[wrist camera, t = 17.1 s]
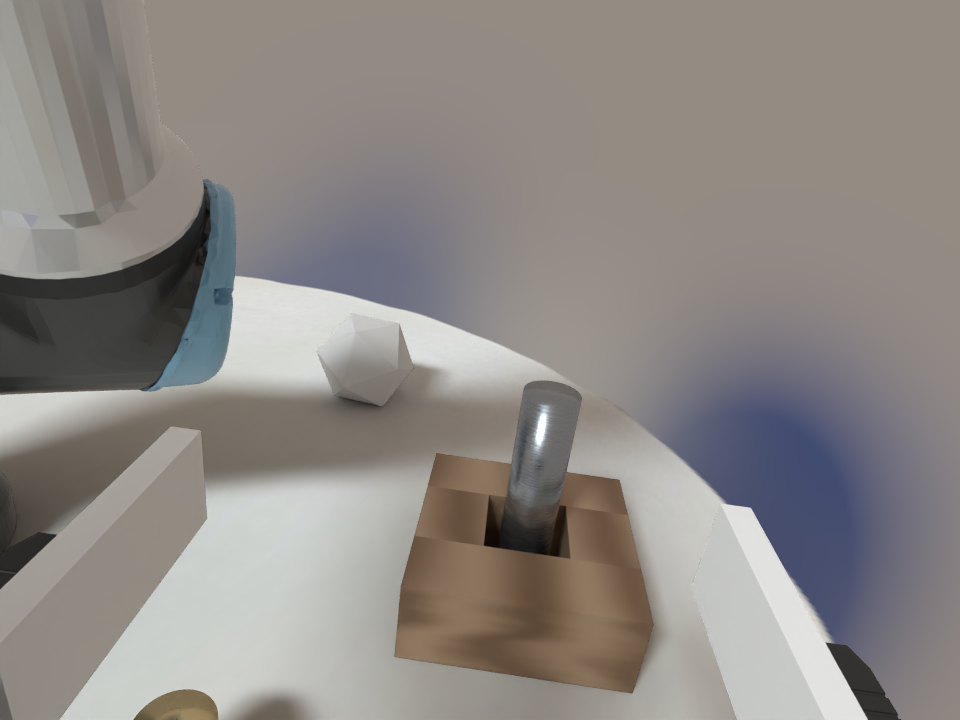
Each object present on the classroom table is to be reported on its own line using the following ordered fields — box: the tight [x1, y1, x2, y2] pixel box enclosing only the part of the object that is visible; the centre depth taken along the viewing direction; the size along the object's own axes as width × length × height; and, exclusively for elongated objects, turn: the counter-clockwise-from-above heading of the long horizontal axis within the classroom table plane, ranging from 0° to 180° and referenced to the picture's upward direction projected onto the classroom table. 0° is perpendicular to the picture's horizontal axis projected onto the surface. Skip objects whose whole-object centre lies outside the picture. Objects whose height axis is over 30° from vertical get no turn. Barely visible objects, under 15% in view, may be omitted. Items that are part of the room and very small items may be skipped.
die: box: [316, 313, 414, 407], centre depth 60 cm, size 8×9×10 cm
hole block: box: [395, 453, 654, 693], centre depth 38 cm, size 13×13×5 cm
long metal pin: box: [497, 381, 582, 556], centre depth 37 cm, size 3×3×14 cm
